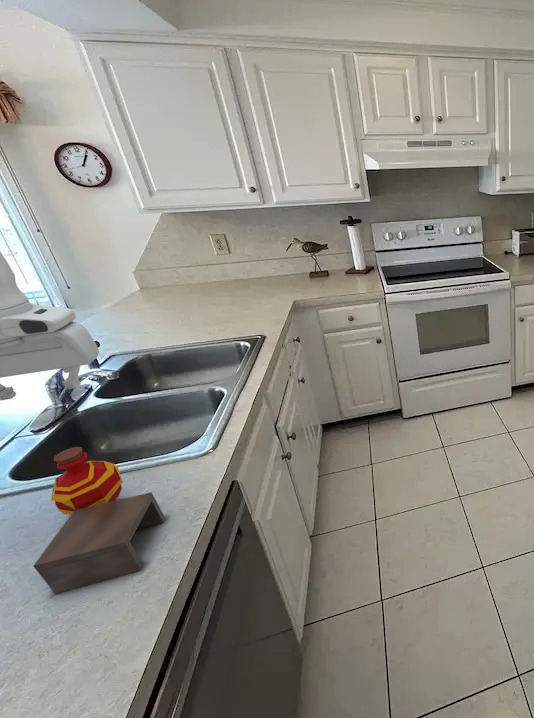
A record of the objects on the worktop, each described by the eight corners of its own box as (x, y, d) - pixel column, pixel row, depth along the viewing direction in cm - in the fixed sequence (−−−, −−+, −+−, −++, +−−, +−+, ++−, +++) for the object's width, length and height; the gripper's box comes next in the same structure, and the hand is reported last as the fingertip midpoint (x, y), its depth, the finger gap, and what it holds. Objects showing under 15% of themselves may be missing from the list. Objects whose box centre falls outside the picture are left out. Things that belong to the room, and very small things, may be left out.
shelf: (54, 594, 68) (32, 566, 65) (91, 536, 78) (74, 509, 75) (140, 570, 72) (123, 542, 69) (165, 518, 82) (151, 492, 79)
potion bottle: (146, 500, 86) (115, 443, 80) (85, 539, 78) (45, 479, 71) (118, 486, 90) (87, 431, 84) (58, 521, 82) (18, 463, 76)
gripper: (-102, 340, 63) (-48, 414, 69) (64, 320, 69) (101, 389, 75) (-68, 326, 69) (-21, 395, 75) (84, 308, 75) (116, 374, 81)
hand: (41, 392), depth 75 cm, fingers open, 8 cm apart
